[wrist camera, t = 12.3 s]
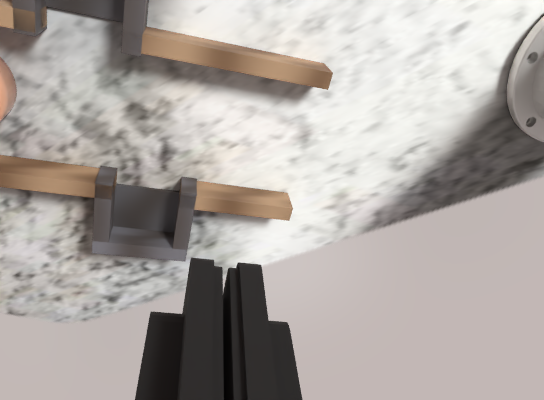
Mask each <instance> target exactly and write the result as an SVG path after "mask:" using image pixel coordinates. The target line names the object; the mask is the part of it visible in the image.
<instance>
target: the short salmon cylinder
mask: <svg viewBox="0 0 544 400" xmlns="http://www.w3.org/2000/svg"><path fill="white" fill-rule="evenodd" d="M16 94H17V89H16V83H15V79H14V77H13V74H12V72H11V70H10V69H9V67H8V66H7V64H6V63H5V62H4V60H3V59H2V58H1V57H0V121H1V120H2V119H3V118H4V117H5V116H6V115H7V114H8V113H9V112H10V111H11V109H12V108H13V106H14V104H15V101H16Z"/></svg>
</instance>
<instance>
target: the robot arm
mask: <svg viewBox="0 0 544 400" xmlns="http://www.w3.org/2000/svg"><path fill="white" fill-rule="evenodd" d="M507 103H508V107H509V111H510V114H511V116H512V118H513V120H514V122H515V123H516V125H517V126H518V127H519V128H520V129H521V130H522V131H523V132H525V133H526V134H528V135H529V136H531V137H532V138H534V139H537V140H539V141H541V142H544V16H543V17H542V18H541V19H540V20H539V22H538V23H537V24H536V25H535V26H534V27H533V28H532V30H531V31H530V33H529V34H528V35H527V37H526V38H525V40H524V41H523V43H522V45H521V46H520V48H519V50H518V52H517V54H516V56H515V58H514V61H513V64H512V67H511V70H510V73H509V78H508V84H507ZM222 281H223V278H222V267H217V266H214V260H209V259H199V258H191V261H190V267H189V274H188V280H187V287H186V293H185V300H184V307H183V313H182V314H174V313H161V312H151V313H150V318H149V323H148V329H147V335H146V341H145V347H144V352H143V358H142V363H141V369H140V374H139V380H138V386H137V391H136V397H135V400H302V395H301V390H300V384H299V378H298V373H297V367H296V361H295V356H294V350H293V344H292V339H291V333H290V328H289V325H288V323H287V322H278V321H268V314H267V306H266V298H265V290H264V282H263V274H262V267H261V265H258V264H248V263H238V264H237V267H236V268H229V269H228V272H227V277H226V282H225V287H224V292H223V284H222V283H223V282H222Z"/></svg>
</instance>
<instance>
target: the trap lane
mask: <svg viewBox="0 0 544 400" xmlns="http://www.w3.org/2000/svg"><path fill="white" fill-rule="evenodd" d="M148 3H149V0H0V26H2V27H7V28H12V29H14V32H16V33H21V34H26V35H31V36H37V35H38V34H39V33H41V32H42V31H44V30H45V29H47V7H52V8H56V9H61V10H66V11H71V12H76V13H80V14H85V15H90V16H95V17H100V18H104V19H109V20H114V21H119V22H123V34H122V49H121V53H125V54H130V55H135V56H140V57H141V55H142V54H147V55H152V56H157V57H162V58H167V59H172V60H177V61H183V62H188V63H193V64H198V65H203V66H208V67H214V68H219V69H224V70H229V71H234V72H239V73H245V74H250V75H255V76H260V77H265V78H270V79H275V80H281V81H286V82H291V83H296V84H301V85H306V86H312V87H317V88H322V89H327V90H328V88H329V85H330V81H331V78H332V74H333V73H332V71H331V70H330V69H329V68H328V67H327V66H326V65H325V64H324V63H319V62H314V61H309V60H304V59H300V58H295V57H290V56H285V55H280V54H276V53H271V52H266V51H261V50H256V49H252V48H247V47H242V46H237V45H232V44H228V43H223V42H218V41H213V40H208V39H204V38H199V37H194V36H189V35H184V34H180V33H175V32H170V31H165V30H160V29H156V28H151V27H146V24H147V14H148ZM116 180H117V168H112V167H104V166H101V168H95V167H87V166H79V165H72V164H64V163H57V162H49V161H42V160H34V159H26V158H19V157H11V156H4V155H0V187H6V188H14V189H23V190H31V191H40V192H48V193H57V194H66V195H74V196H83V197H91V198H94V219H93V241H92V253H96V254H107V255H118V256H129V257H141V258H152V259H163V260H174V261H185V260H186V254H187V249H188V243H189V237H190V231H191V225H192V220H193V214H194V210H203V211H211V212H220V213H228V214H237V215H245V216H254V217H263V218H271V219H280V220H288V221H289V219H290V216H291V213H292V209H293V208H292V205H291V202H290V199H289V196H288V193H284V192H276V191H269V190H261V189H254V188H246V187H238V186H231V185H223V184H216V183H208V182H201V181H197V179H194V178H187V177H182V179H181V186H180V192H178V191H170V190H162V189H154V188H146V187H138V186H131V185H123V184H116Z"/></svg>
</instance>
